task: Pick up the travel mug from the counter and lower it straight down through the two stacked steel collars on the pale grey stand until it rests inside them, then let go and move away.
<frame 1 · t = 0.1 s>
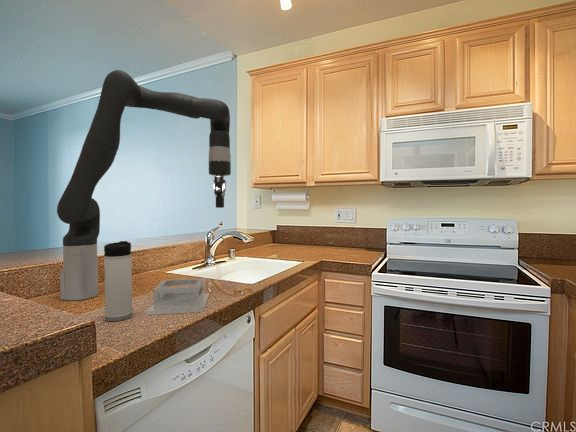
hand: (220, 207, 103), 29 cm above the counter, tool pointing down, fingers open, 8 cm apart
travel mug: (119, 317, 78), on the counter
collar stand: (180, 304, 89), on the counter
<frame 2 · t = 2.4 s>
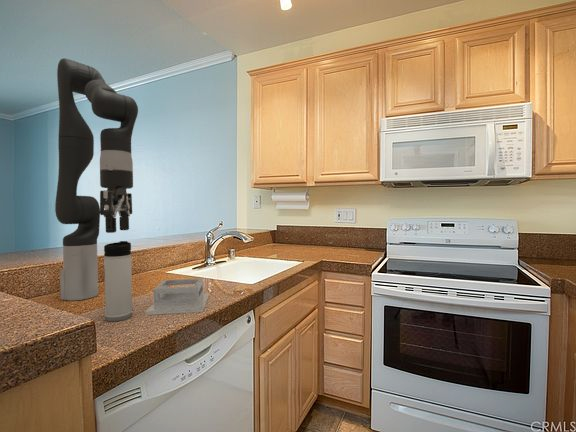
hand: (118, 231, 78), 23 cm above the counter, tool pointing down, fingers open, 8 cm apart
nothing on the counter moved.
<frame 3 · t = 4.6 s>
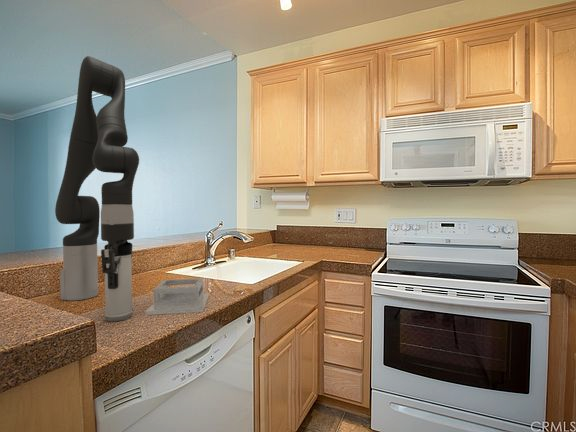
hand: (118, 284, 78), 9 cm above the counter, tool pointing down, fingers closed on travel mug, 6 cm apart
travel mug: (119, 317, 78), on the counter, touching gripper
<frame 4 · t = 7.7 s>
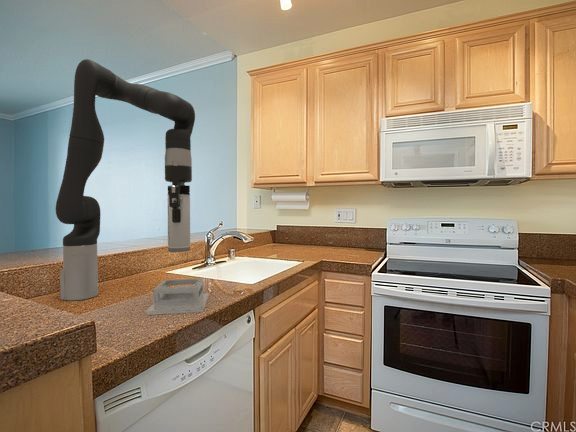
hand: (179, 221, 88), 25 cm above the counter, tool pointing down, fingers closed on travel mug, 6 cm apart
travel mug: (179, 251, 88), point 16 cm above the counter, touching gripper
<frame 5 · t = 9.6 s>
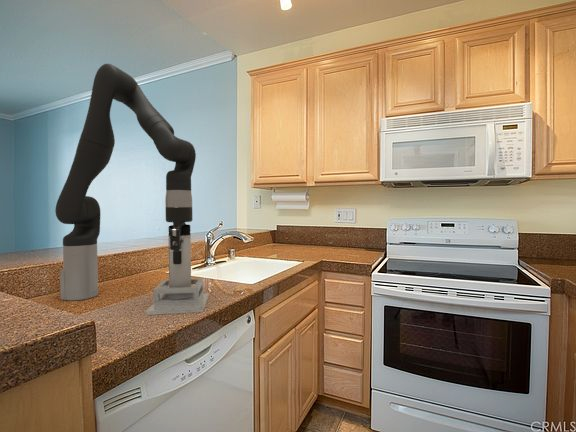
hand: (179, 261, 88), 13 cm above the counter, tool pointing down, fingers closed on travel mug, 6 cm apart
travel mug: (180, 291, 89), point 4 cm above the counter, touching gripper
when the fingers open (11 cm above the counter, at t = 11.0 s): travel mug drops 1 cm, resting on collar stand.
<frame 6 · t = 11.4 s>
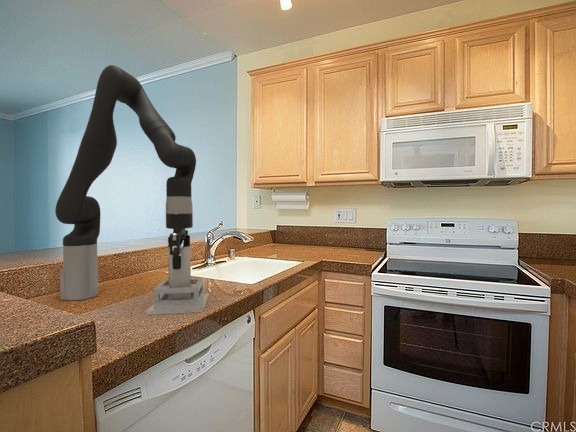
hand: (179, 266, 88), 12 cm above the counter, tool pointing down, fingers open, 8 cm apart
travel mug: (180, 301, 89), point 1 cm above the counter, touching collar stand
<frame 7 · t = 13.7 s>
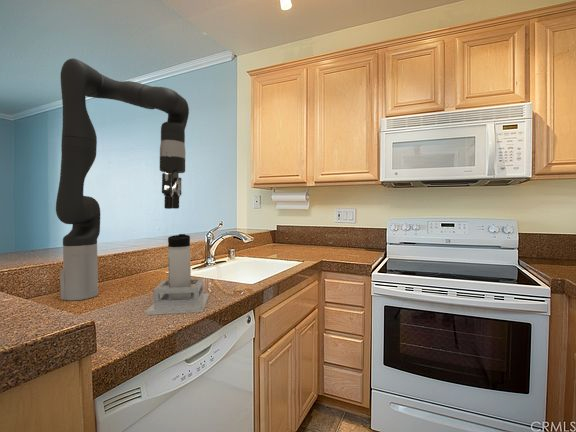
hand: (172, 208, 93), 29 cm above the counter, tool pointing down, fingers open, 8 cm apart
nothing on the counter moved.
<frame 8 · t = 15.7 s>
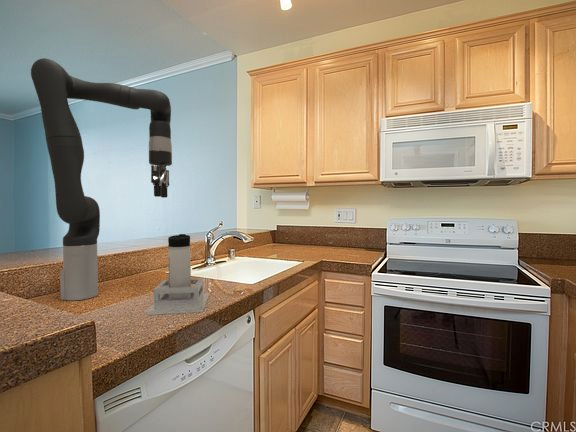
hand: (161, 197, 105), 33 cm above the counter, tool pointing down, fingers open, 8 cm apart
nothing on the counter moved.
at the end: travel mug 0.3 cm off-centre on the collar stand, point 0.8 cm above the collar stand's base; travel mug tilted 0°; the gripper is holding nothing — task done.
